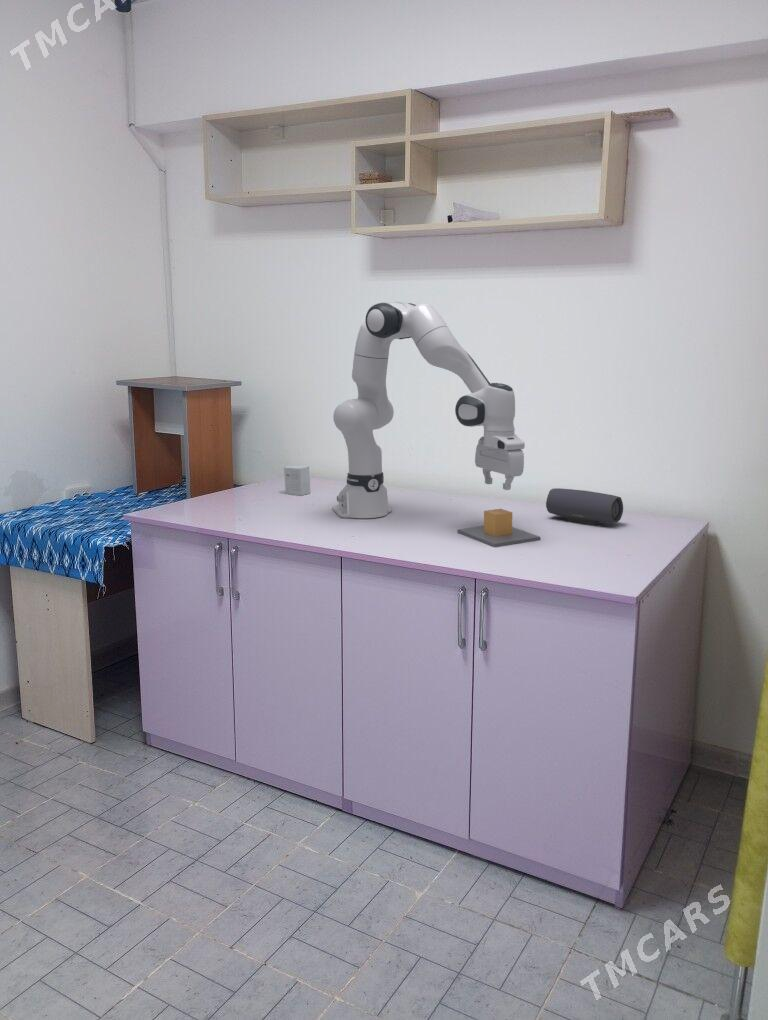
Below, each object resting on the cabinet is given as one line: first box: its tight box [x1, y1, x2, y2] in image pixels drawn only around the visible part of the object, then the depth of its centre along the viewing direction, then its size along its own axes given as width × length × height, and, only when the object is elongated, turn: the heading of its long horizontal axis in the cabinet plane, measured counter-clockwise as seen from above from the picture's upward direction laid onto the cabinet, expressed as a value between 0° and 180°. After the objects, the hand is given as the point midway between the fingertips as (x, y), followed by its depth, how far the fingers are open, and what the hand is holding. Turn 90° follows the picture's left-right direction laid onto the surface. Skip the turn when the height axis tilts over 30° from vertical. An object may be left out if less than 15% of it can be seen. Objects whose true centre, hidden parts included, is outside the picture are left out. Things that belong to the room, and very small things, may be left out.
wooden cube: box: [483, 508, 513, 536], centre depth 247 cm, size 6×6×6 cm
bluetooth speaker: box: [545, 488, 624, 525], centre depth 263 cm, size 23×9×10 cm, turn 48°
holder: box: [456, 525, 541, 548], centre depth 247 cm, size 20×16×4 cm
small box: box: [283, 464, 311, 496], centre depth 315 cm, size 8×6×10 cm
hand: (497, 486), depth 244 cm, fingers open, 8 cm apart
